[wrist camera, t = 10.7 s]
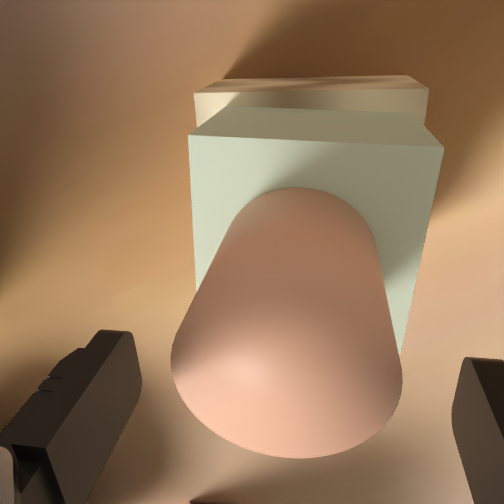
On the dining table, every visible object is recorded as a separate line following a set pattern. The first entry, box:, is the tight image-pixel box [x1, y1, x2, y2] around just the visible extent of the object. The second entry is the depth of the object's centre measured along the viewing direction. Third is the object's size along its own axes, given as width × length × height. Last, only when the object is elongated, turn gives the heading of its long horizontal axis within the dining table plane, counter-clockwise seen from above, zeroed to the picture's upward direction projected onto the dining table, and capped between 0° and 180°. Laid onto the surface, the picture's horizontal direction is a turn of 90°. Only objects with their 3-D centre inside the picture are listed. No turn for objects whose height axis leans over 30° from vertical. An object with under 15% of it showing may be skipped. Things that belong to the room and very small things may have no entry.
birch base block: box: [194, 75, 429, 128], centre depth 24 cm, size 10×10×6 cm
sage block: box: [188, 106, 445, 354], centre depth 18 cm, size 8×8×6 cm
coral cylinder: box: [171, 187, 403, 458], centre depth 13 cm, size 6×6×6 cm
